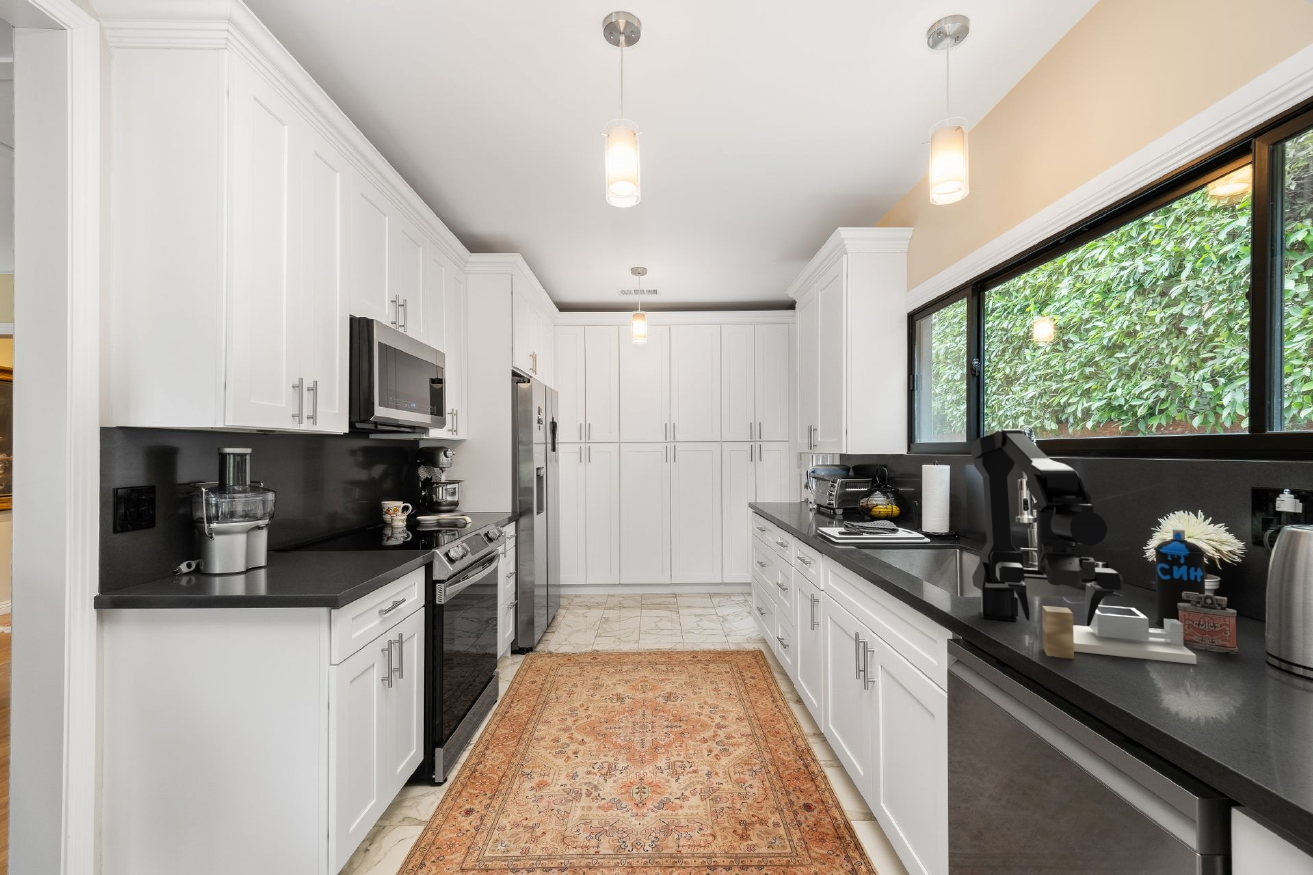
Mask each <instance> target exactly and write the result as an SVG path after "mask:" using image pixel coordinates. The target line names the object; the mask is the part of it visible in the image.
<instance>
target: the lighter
mask: <svg viewBox="0 0 1313 875" xmlns="http://www.w3.org/2000/svg"><path fill="white" fill-rule="evenodd" d="M1182 598H1183V599H1189V600H1192V601H1191V604H1188V603H1178V608H1179V622H1181V623H1182V624H1183V646H1184V647H1189V648H1194V649H1199V650H1200V649H1201V650H1205V649H1207V650H1206V651H1211V652H1212V651H1213V652H1220V653H1225V652H1230V653H1229V654H1235V653H1234V652H1239V650H1238V647H1237V633H1236V632H1237V631H1236V629H1237V628H1236V627H1237V626H1236V616H1237V610H1235V609H1232V608H1227V604H1228V598H1227V597H1226V596H1225V597H1223V596H1217V595H1215V596H1214V594H1212V593H1209V592H1205V594H1204V595H1200V594H1199V593H1192V592H1184V593H1182ZM1196 600H1197V601H1202V602H1201V603H1200V605H1198V604H1197V601H1196ZM1218 604H1219V605H1218ZM1231 652H1232V653H1231Z"/></svg>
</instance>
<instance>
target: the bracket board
mask: <svg viewBox="0 0 1313 875" xmlns="http://www.w3.org/2000/svg"><path fill="white" fill-rule="evenodd" d="M1073 634H1074V652H1077V653H1088V654H1099V655H1105V656H1106V655H1108V656H1114V657H1115V656H1116V657H1125V658H1132V659H1133V658H1134V659H1143V660H1144V659H1145V660H1154V661H1164V662H1171V663H1172V662H1173V663H1174V662H1175V663H1181V664H1182V663H1183V664H1193V665H1197V654H1195V653H1193V652H1192V651H1191V650H1190V649H1188V648H1187V646H1184V645H1183V646H1175V645H1170V644H1169V643H1167V642H1166V641H1165V640H1164V639H1159V638H1149V641H1145V640H1135V639H1124V638H1114V637H1103V636H1097V635H1096V634H1095V633H1094V631H1093V630H1092V629H1091V628H1090V627H1089V626H1086V625H1077V624H1076V625H1074V624H1073Z"/></svg>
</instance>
